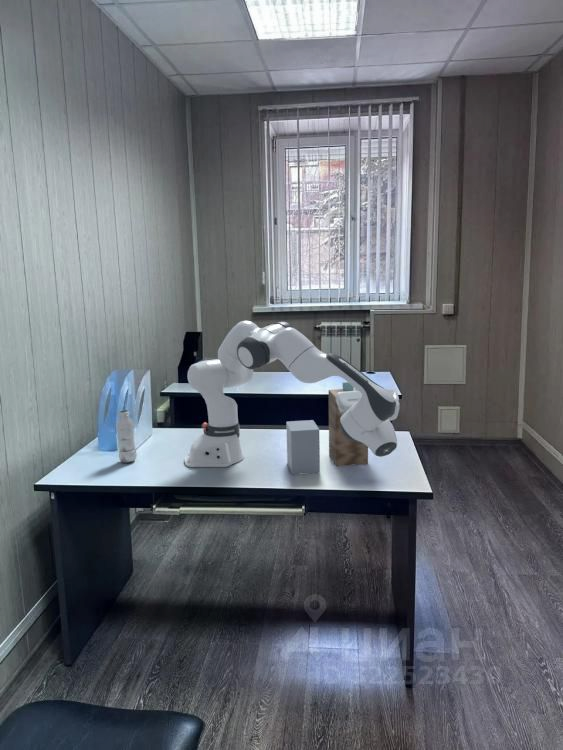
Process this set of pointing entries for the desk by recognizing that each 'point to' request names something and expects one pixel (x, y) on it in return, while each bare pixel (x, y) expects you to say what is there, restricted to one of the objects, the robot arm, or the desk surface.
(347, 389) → the teal bar
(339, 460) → the walnut pedestal
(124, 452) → the plastic bottle
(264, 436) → the desk surface
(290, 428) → the slate base
